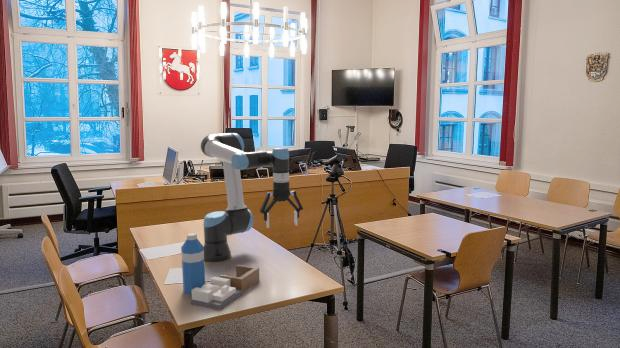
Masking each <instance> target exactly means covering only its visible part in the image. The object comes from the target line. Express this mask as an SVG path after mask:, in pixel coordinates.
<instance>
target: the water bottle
mask: <svg viewBox="0 0 620 348" xmlns="http://www.w3.org/2000/svg"><path fill="white" fill-rule="evenodd" d="M180 251H181V267H182V269H181V270H182V271H181V272H182V285H183V286H182V289H183V292H184V294H185V295H191V296H192V289H194V288H196V287H198V288H201V287H202V286H203V285H204V284H206V274H205V260H204V244H202V243H201V242H200V240H199V239H198V234H197V233H196V232H191V233H190V232H189V233H187V234H186V240H185V241H184V242H183V244H182V246H181V248H180Z"/></svg>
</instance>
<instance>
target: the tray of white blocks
mask: <svg viewBox="0 0 620 348" xmlns="http://www.w3.org/2000/svg"><path fill="white" fill-rule="evenodd" d="M242 295H243V292H242V290H239V289H236V288H235V287H231V284H230V279H227V278H221V277H220V276H212V277H210V283H205V284H204V285H203V286H202V287H201V288H198V287H196V288H194V289H192V295H191V299H190V305H195V306H199V307H204V308H209V309H214V310H219V311H221V310H222V309H224V308H225V307H227V306H228V305H230V304H231V303H232V302H234V301H235V300H237V299H238V298H239V297H240V296H242Z"/></svg>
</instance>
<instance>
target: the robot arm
mask: <svg viewBox="0 0 620 348" xmlns="http://www.w3.org/2000/svg"><path fill="white" fill-rule="evenodd" d="M200 150H201V152H202V153H203V155H205V156H206V157H208V158H217V159H219V161H221V162H222V168H223V175H224V184H225V191H226V192H225V193H226V200H227V208H225V211H223V210H219V211H217V210H216V211H211V212H209V213H207V214H206V215H205V216H204V217H203V223H202V224H203V235H204V236H203V238H204V240H203V241H204V242H203V243H204V244H203V247H204V261H206V262H220V261H221V262H222V261H225V260H229V259H230V258H231V257H232V252H231V249H230V246H229V243H228V236H231V235H237V234H241V233H242V234H243V233H245V232H248V231H250V230H251V229H252V228H253V225H254V215H253V213H252V211H251V210H250V209H248V206H247V205H246V204H245V200H244V193H243V184H242V177H241V171H243V170H249V169H256V168H257V169H259V168H265V167H266V168H267V167H268V168H272V181H273V182H272V189H273V190H272V192H269V191H266V195H265V199H264V201H263V203H262V205H261V207H260V209H259V212H260V213H261V214H263V220H264V221H265V224H266V225H265V226H266V228H267V229H270V211H271V210H272V208H273V207H274V205H275V204H276V203H277V202H279V203H280V202H286V201H287V203H289V204H290V206H291V207H292V208H293V209H294V210H293V224H294V225H295V226H298V219H299V218H300V211H302V210H304V208H303V205H302V203H301V202H300V200H299V197H298V195H297V191H296V190H290V152H289V151H290V150H289V148H287V147H274V148H273V149H272V150H269V149H261V150H260V151H250V152H249V151H244V150H245V143H244V140H243V138H242V137H241V135H240V134H238V133H236V132H227V133H226V132H225V133H223V132H222V133H210V134H208V135H206V136H205V137H203V139H202V140H201V143H200ZM290 196H292V197H293V199H294V202H293V201H292V200H291V198H289V197H290ZM272 197H273V198H272ZM270 198H272V199H271V201H270ZM269 201H270V203H269ZM295 203H296V204H297V205H296V204H295Z"/></svg>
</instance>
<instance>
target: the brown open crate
mask: <svg viewBox="0 0 620 348" xmlns="http://www.w3.org/2000/svg"><path fill="white" fill-rule="evenodd" d="M235 271H236V272H235V274H236V276H234V275H230V274H228V275H227V274H223V273H222V274H220V275H219V277H221V278H227V279H230V284H231V287H235V288H236V289H239V290H242V293H244V292H245V291H247V290H248V289H249V288H251V287H252V286H254V285H255V284H256V283H258V282H260V267H256V266H249V265H243V264H237V265H235Z"/></svg>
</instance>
